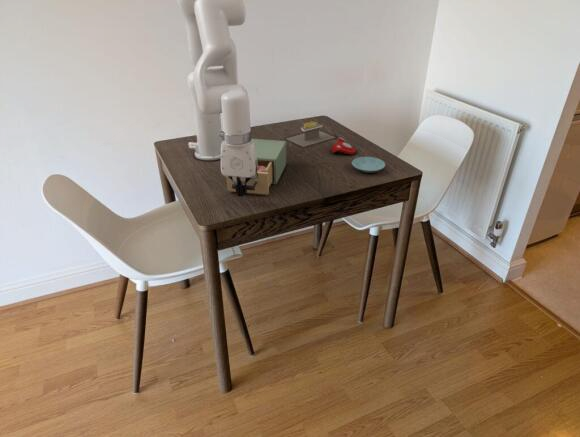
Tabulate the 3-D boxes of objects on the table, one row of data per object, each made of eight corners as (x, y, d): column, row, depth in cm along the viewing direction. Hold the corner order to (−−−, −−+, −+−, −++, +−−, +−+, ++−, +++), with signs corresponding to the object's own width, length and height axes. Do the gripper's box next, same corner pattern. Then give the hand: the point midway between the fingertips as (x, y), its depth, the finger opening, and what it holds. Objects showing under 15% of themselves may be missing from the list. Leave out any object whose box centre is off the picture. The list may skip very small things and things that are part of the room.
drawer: (264, 201, 131) (263, 180, 127) (222, 197, 133) (220, 176, 129) (278, 174, 148) (278, 154, 144) (241, 170, 150) (240, 151, 146)
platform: (285, 138, 179) (285, 123, 176) (317, 129, 189) (317, 115, 185) (303, 147, 171) (303, 131, 168) (335, 137, 181) (336, 122, 177)
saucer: (384, 177, 148) (385, 171, 146) (350, 174, 149) (351, 168, 148) (384, 163, 158) (384, 157, 156) (351, 161, 159) (352, 155, 158)
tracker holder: (361, 150, 165) (342, 149, 160) (356, 159, 168) (338, 159, 162) (343, 134, 173) (325, 133, 167) (339, 143, 175) (321, 143, 169)
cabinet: (276, 184, 143) (275, 159, 138) (234, 180, 145) (232, 156, 141) (286, 164, 157) (286, 141, 152) (247, 161, 159) (246, 138, 154)
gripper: (207, 139, 118) (213, 198, 127) (260, 143, 115) (262, 202, 125) (216, 130, 124) (222, 187, 134) (266, 134, 122) (268, 191, 131)
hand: (241, 194), depth 129 cm, fingers closed
